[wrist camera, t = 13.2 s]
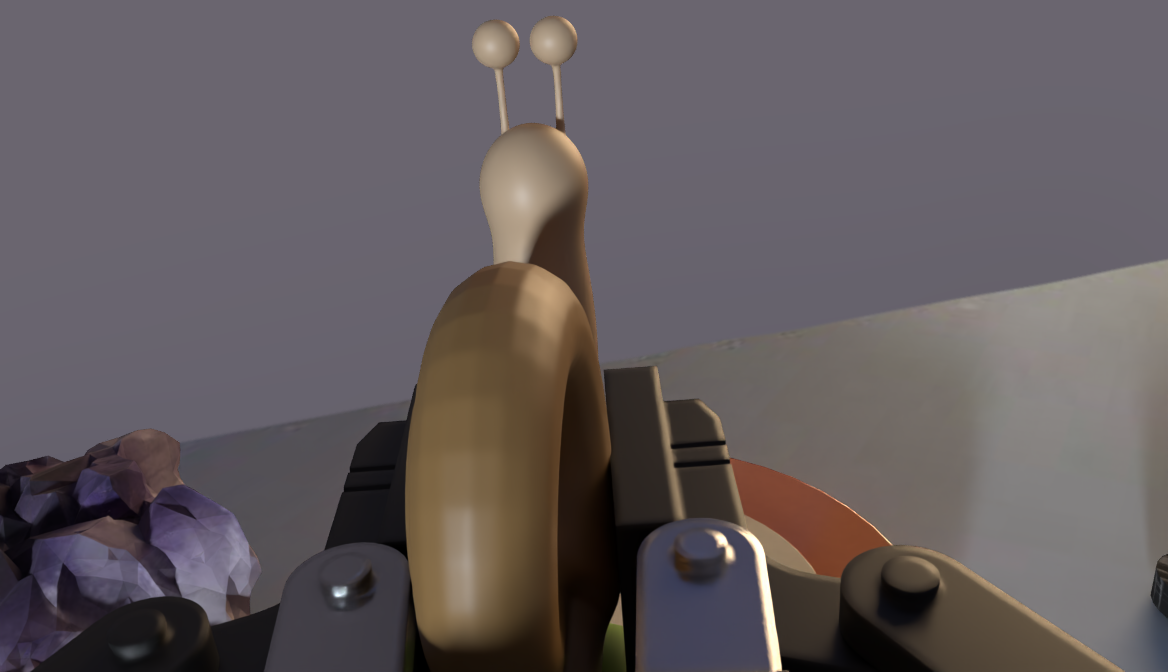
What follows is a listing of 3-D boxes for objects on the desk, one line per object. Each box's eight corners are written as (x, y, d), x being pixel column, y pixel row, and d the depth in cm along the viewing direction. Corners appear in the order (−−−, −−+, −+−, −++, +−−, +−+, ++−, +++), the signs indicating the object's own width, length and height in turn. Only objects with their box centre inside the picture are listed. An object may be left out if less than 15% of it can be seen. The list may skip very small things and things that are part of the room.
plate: (236, 977, 26) (219, 928, 25) (364, 502, 43) (357, 463, 42) (1046, 924, 25) (1055, 873, 25) (852, 467, 42) (853, 427, 42)
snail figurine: (763, 763, 18) (763, -3, 12) (819, 1232, 12) (863, 180, 7) (432, 767, 18) (294, 28, 13) (333, 1222, 12) (4, 225, 7)
